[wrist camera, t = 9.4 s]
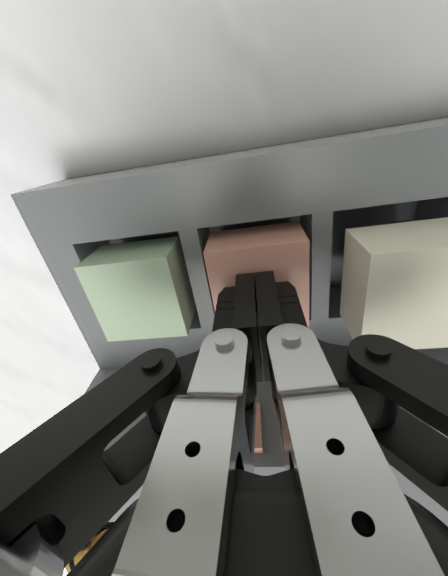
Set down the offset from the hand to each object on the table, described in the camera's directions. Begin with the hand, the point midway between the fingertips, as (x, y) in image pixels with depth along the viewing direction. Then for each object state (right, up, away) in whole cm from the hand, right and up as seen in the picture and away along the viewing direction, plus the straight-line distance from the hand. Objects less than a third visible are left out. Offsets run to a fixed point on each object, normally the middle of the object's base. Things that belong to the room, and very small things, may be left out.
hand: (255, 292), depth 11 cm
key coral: (0, +2, +3) cm, 4 cm away
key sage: (-5, +1, +4) cm, 7 cm away
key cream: (+6, +2, +1) cm, 6 cm away
